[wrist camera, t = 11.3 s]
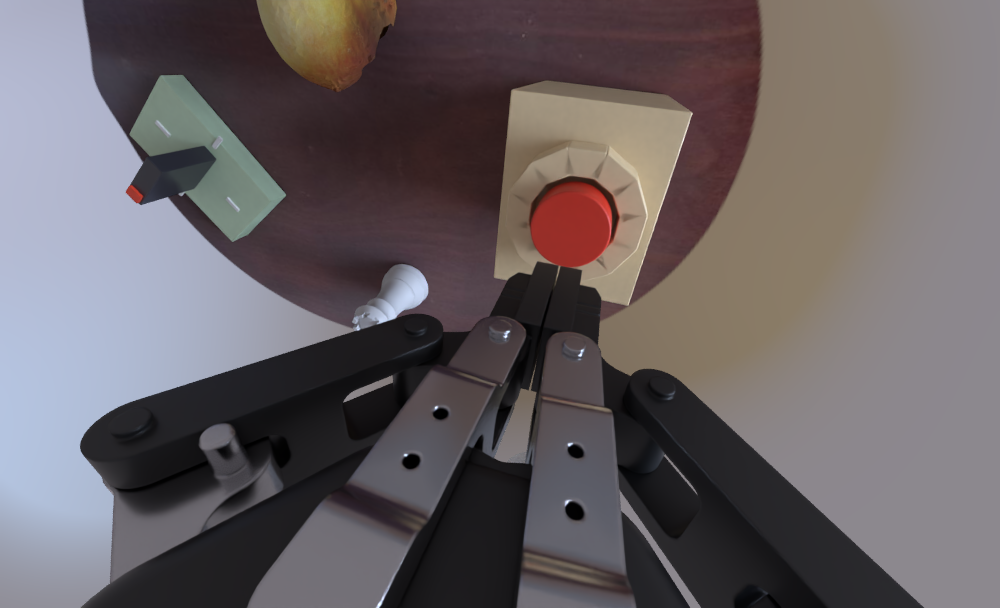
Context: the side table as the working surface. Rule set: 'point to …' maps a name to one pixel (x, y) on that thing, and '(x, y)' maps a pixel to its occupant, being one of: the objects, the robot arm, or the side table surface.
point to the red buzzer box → (589, 171)
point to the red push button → (572, 224)
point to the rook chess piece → (393, 296)
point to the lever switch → (234, 175)
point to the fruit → (327, 36)
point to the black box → (170, 174)
